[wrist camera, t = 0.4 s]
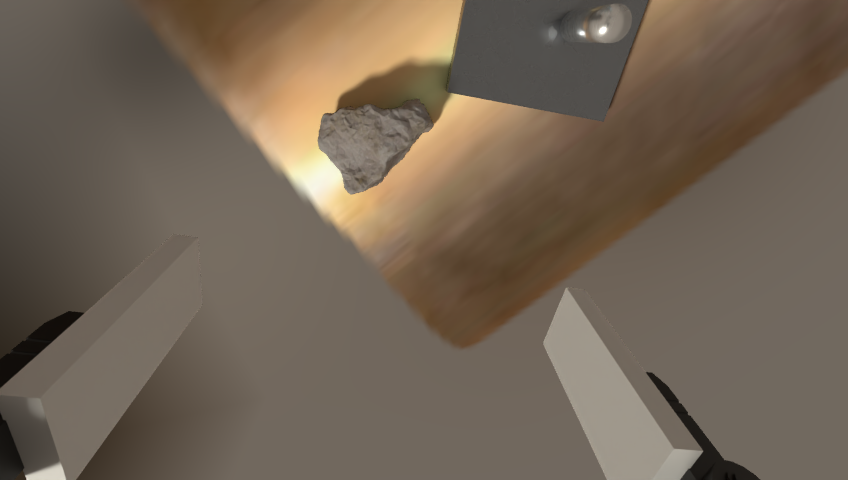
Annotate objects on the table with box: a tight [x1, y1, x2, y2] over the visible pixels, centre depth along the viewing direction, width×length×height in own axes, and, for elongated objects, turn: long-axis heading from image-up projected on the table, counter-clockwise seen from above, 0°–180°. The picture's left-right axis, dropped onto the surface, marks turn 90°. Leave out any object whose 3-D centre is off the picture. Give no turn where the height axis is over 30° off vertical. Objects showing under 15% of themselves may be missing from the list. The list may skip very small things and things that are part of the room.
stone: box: [318, 99, 434, 194], centre depth 36 cm, size 10×8×6 cm
